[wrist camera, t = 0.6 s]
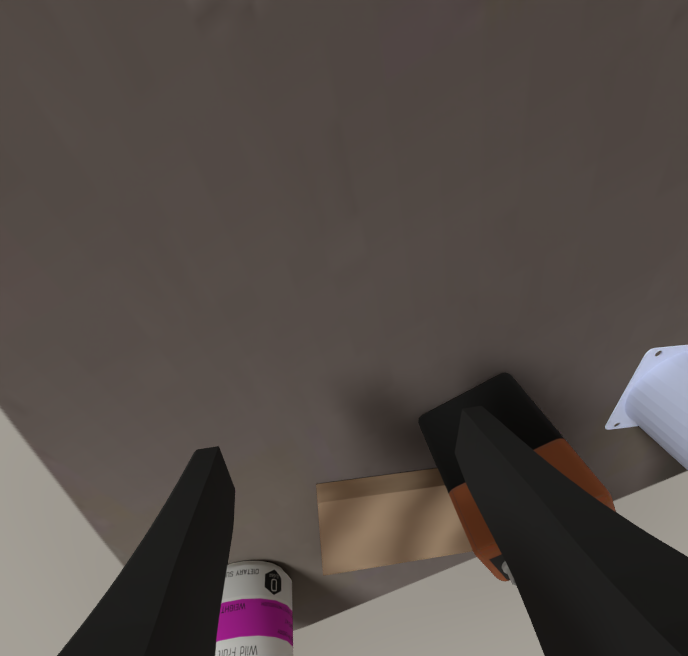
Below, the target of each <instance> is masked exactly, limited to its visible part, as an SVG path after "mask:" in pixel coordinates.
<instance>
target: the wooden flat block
mask: <svg viewBox="0 0 688 656" xmlns="http://www.w3.org/2000/svg"><path fill="white" fill-rule="evenodd" d="M316 488H317V501H318V515H319V528H320V541H321V555H322V567H323V576H324V575H330V574H336V573H343V572H349V571H355V570H361V569H367V568H373V567H379V566H385V565H391V564H397V563H403V562H410V561H416V560H422V559H428V558H434V557H440V556H446V555H452V554H458V553H464V552H471V551H473V550H472V548H471V545H470V543H469V541H468V538H467V536H466V534H465V531H464V529H463V527H462V524H461V522H460V519H459V517H458V515H457V512H456V510H455V508H454V505H453V503H452V501H451V498H450V496H449V494H448V491H447V489H446V487H445V484H444V482H443V480H442V477H441V475H440V472H439V470H438V468H434V469H427V470H419V471H412V472H404V473H397V474H389V475H382V476H374V477H367V478H359V479H352V480H344V481H337V482H329V483H322V484H316Z"/></svg>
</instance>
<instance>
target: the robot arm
mask: <svg viewBox="0 0 688 656" xmlns="http://www.w3.org/2000/svg"><path fill="white" fill-rule="evenodd" d="M658 351H662V352H661V354H660V355H658V356H655V354H656V353H657V352H658ZM616 423H620V424H619V425H618V426H616V427H614V425H615V424H616ZM634 426H639V427H640V428H642V429H643V430H644V431H645V432H646V433H647V434H648V435H649V436H650V437H651V438H653V439H654V440H655V441H656V442H657V443H658V444H659V445H660V446H661V447H662V448H664V449H665V450H666V451H667V452H668V453H669V454H670V455H671V456H672V457H673V458H675V459H676V460H677V461H678V462H679V463H680V464H681V465H682V466H683V467H685V468H686V469H687V470H688V345H680V346H670V347H660V348H653V349H650V350H649V351H648V352H647V353H646V354H645V355H644V357H643V359H642V361H641V363H640V364H639V366H638V368H637V370H636V372H635V373H634V375H633V377H632V379H631V381H630V382H629V384H628V386H627V388H626V389H625V391H624V393H623V395H622V397H621V398H620V400H619V402H618V404H617V406H616V407H615V409H614V411H613V413H612V415H611V416H610V418H609V420H608V422H607V424H606V425H605V429H607V430H610V429H618V428H626V427H634ZM455 455H456V458H457V461H458V464H459V466H460V469H461V472H462V474H463V477H464V479H465V482H466V485H467V487H468V489H469V491H470V493H471V495H472V497H473V499H474V501H475V503H476V505H477V507H478V509H479V511H480V513H481V515H482V517H483V519H484V520H485V522H486V524H487V526H488V528H489V530H490V532H491V534H492V536H493V538H494V540H495V542H496V544H497V546H498V548H499V550H500V552H501V554H502V555H503V557H504V559H505V561H506V563H507V566H508V568H509V570H510V572H511V574H512V576H513V578H514V581H515V583H516V585H517V588H518V590H519V593H520V595H521V597H522V600H523V602H524V605H525V607H526V609H527V612H528V614H529V617H530V619H531V622H532V624H533V627H534V629H535V632H536V635H537V637H538V640H539V642H540V645H541V647H542V650H543V653H544V655H545V656H688V557H687V556H685V555H684V554H682V553H680V552H679V551H677V550H675V549H674V548H672V547H670V546H669V545H667V544H665V543H663V542H662V541H660V540H659V539H657V538H655V537H654V536H652V535H650V534H649V533H647V532H645V531H644V530H642V529H641V528H639V527H638V526H636V525H634V524H633V523H631V522H630V521H629V520H627V519H625V518H624V517H622V516H621V515H619V514H618V513H617V512H615V511H614V510H612V509H611V508H609V507H608V506H606V505H605V504H603V503H602V502H600V501H599V500H597V499H596V498H595V497H593V496H592V495H590V494H589V493H588V492H586V491H585V490H584V489H582V488H581V487H580V486H578V485H577V484H576V483H574V482H573V481H572V480H570V479H569V478H568V477H566V476H565V475H564V474H562V473H561V472H560V471H559V470H557V469H556V468H555V467H553V466H552V465H551V464H550V463H548V462H547V461H546V460H545V459H544V458H542V457H541V456H540V455H539V454H537V453H536V452H535V451H534V450H532V449H531V448H530V447H529V446H528V445H527V444H525V443H524V442H523V441H522V440H521V439H519V438H518V437H517V436H516V435H515V434H514V433H512V432H511V431H510V430H509V429H508V428H507V427H506V426H504V425H503V424H502V423H501V422H500V421H499V420H497V419H496V418H495V417H494V416H493V415H492V414H491V413H489V412H488V411H487V410H486V409H485V408H483V407H482V406H477V407H470V408H464V409H462V412H461V418H460V424H459V430H458V436H457V442H456V448H455ZM234 505H235V488H234V485H233V482H232V480H231V477H230V475H229V472H228V469H227V467H226V464H225V461H224V459H223V456H222V453H221V451H220V448H219V446H217V447H211V448H204V449H198V450H196V451H195V452H194V454H193V456H192V457H191V459H190V461H189V463H188V465H187V466H186V468H185V470H184V472H183V474H182V475H181V477H180V479H179V481H178V482H177V484H176V486H175V488H174V489H173V491H172V493H171V494H170V496H169V498H168V500H167V501H166V503H165V505H164V506H163V508H162V509H161V511H160V513H159V514H158V516H157V518H156V519H155V521H154V522H153V524H152V526H151V527H150V529H149V530H148V532H147V534H146V535H145V537H144V538H143V540H142V541H141V543H140V544H139V546H138V547H137V549H136V550H135V552H134V553H133V555H132V556H131V558H130V559H129V561H128V562H127V564H126V565H125V567H124V568H123V569H122V571H121V573H120V574H119V575H118V577H117V578H116V580H115V581H114V582H113V584H112V585H111V587H110V588H109V589H108V591H107V592H106V593H105V595H104V596H103V597H102V599H101V600H100V602H99V603H98V604H97V606H96V607H95V608H94V609H93V611H92V612H91V613H90V615H89V616H88V618H87V619H86V620H85V621H84V623H83V624H82V625H81V627H80V628H79V629H78V630H77V632H76V633H75V634H74V635H73V637H72V638H71V639H70V640H69V642H68V643H67V644H66V645H65V647H64V648H63V649H62V651H61V652H60V653H59V654H58V655H57V656H215V651H216V639H217V631H218V623H219V615H220V609H221V603H222V596H223V590H224V584H225V578H226V571H227V565H228V559H229V552H230V546H231V539H232V532H233V524H234Z"/></svg>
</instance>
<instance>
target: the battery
mask: <svg viewBox="0 0 688 656" xmlns="http://www.w3.org/2000/svg"><path fill="white" fill-rule="evenodd" d="M477 406H482V407H483V408H485V409H486V410H487V411H488V412H489V413H491V414H492V415H493V416H494V417H495V418H496V419H497V420H499V421H500V422H501V423H502V424H503V425H504V426H506V427H507V428H508V429H509V430H510V431H511V432H512V433H514V434H515V435H516V436H517V437H518V438H519V439H521V440H522V441H523V442H524V443H525V444H527V445H528V446H529V447H530V448H531V449H532V450H534V451H535V452H536V453H537V454H539V455H540V456H541V457H542V458H544V459H545V460H546V461H547V462H548V463H550V464H551V465H552V466H553V467H555V468H556V469H557V470H559V471H560V472H561V473H562V474H564V475H565V476H566V477H568V478H569V479H570V480H572V481H573V482H574V483H576V484H577V485H578V486H580V487H581V488H582V489H584V490H585V491H586V492H588V493H589V494H590V495H592V496H593V497H595V498H596V499H597V500H599V501H600V502H602V503H603V504H605V505H606V506H608V507H609V508H611V509H612V510H614V511H615V507H614V504H613V500H612V497H611V495H610V493H609V492H608V490H607V489H606V488H605V487H604V485H603V484H602V483H601V482H600V481H599V479H598V478H597V477H596V476H595V475H594V474H593V472H592V471H591V470H590V469H589V468H588V466H587V465H586V464H585V463H584V462H583V460H582V459H581V458H580V457H579V456H578V454H577V453H576V452H575V451H574V450H573V449H572V447H571V446H570V445H569V444H568V443H567V441H566V440H565V439H564V438H563V437H562V435H561V434H560V433H559V432H558V431H557V429H556V428H555V427H554V426H553V425H552V424H551V422H550V421H549V420H548V419H547V418H546V416H545V415H544V414H543V413H542V412H541V410H540V409H539V408H538V407H537V406H536V404H535V403H534V402H533V401H532V400H531V398H530V397H529V396H528V395H527V394H526V393H525V391H524V390H523V389H522V388H521V387H520V385H519V384H518V383H517V382H516V381H515V379H514V378H513V377H512V376H511V375H510V374H508V373H502V374H500V375H498V376H496V377H494V378H492V379H490V380H488V381H486V382H484V383H483V384H481V385H479V386H477V387H475V388H473V389H471V390H469V391H467V392H465V393H464V394H462V395H460V396H458V397H456V398H454V399H452V400H450V401H448V402H446V403H445V404H443V405H441V406H439V407H437V408H435V409H433V410H431V411H429V412H428V413H426V414H424V415H422V416H421V417H420V418H419V425H420V428H421V430H422V433H423V435H424V437H425V440H426V442H427V444H428V447H429V449H430V451H431V454H432V456H433V458H434V461H435V463H436V465H437V468H438V470H439V472H440V475H441V477H442V480H443V482H444V484H445V487H446V489H447V491H448V494H449V496H450V498H451V501H452V503H453V505H454V508H455V510H456V512H457V515H458V517H459V519H460V522H461V524H462V527H463V529H464V531H465V534H466V536H467V538H468V541H469V543H470V545H471V548H472V550H473V552H474V554H475V555H476V556H477V557H478V558H479V559H480V560H481V562H482V563H483V564H484V565H485V566H486V567H487V568H488V569H489V570H490V571H491V572H492V573H493V575H494V576H495V577H496V578H498V579H499V580H501V581H509V580H511V582H512V584H514V585H516V583H515V581H514V578H513V576H512V574H511V572H510V570H509V568H508V566H507V563H506V561H505V559H504V557H503V555H502V554H501V552H500V550H499V548H498V546H497V544H496V542H495V540H494V538H493V536H492V534H491V532H490V530H489V528H488V526H487V524H486V522H485V520H484V519H483V517H482V515H481V513H480V511H479V509H478V507H477V505H476V503H475V501H474V499H473V497H472V495H471V493H470V491H469V489H468V487H467V485H466V482H465V479H464V477H463V474H462V472H461V469H460V466H459V464H458V461H457V458H456V455H455V448H456V442H457V436H458V430H459V424H460V418H461V412H462V409H464V408H470V407H477ZM615 512H616V511H615Z"/></svg>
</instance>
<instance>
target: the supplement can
mask: <svg viewBox="0 0 688 656" xmlns="http://www.w3.org/2000/svg"><path fill="white" fill-rule="evenodd" d="M215 656H293V618H292V580H291V579H290V577H289V576H288V575H287V574H286V573H285V572H284V571H283V569H282V568H281V567H279V566H277V565H275V564H273V563H269V562H264V561H242V562H237V563H231V564H229V565H227V571H226V578H225V584H224V590H223V596H222V603H221V609H220V615H219V623H218V631H217V639H216V651H215Z"/></svg>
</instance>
